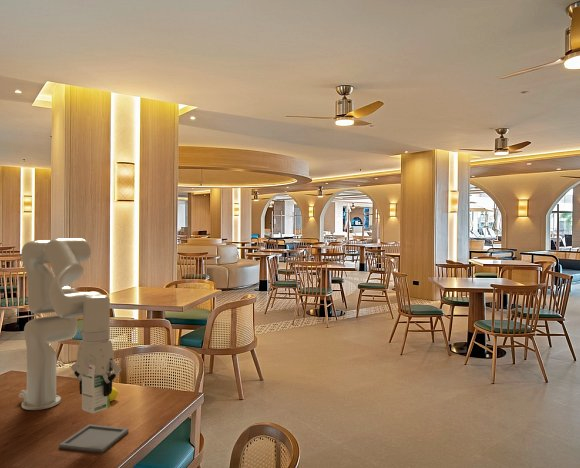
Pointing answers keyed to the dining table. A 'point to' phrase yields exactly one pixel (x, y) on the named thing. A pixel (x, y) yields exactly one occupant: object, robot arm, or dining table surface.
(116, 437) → the slate tray
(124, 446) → the dining table surface
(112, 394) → the lemon
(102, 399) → the syrup box
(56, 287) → the robot arm
